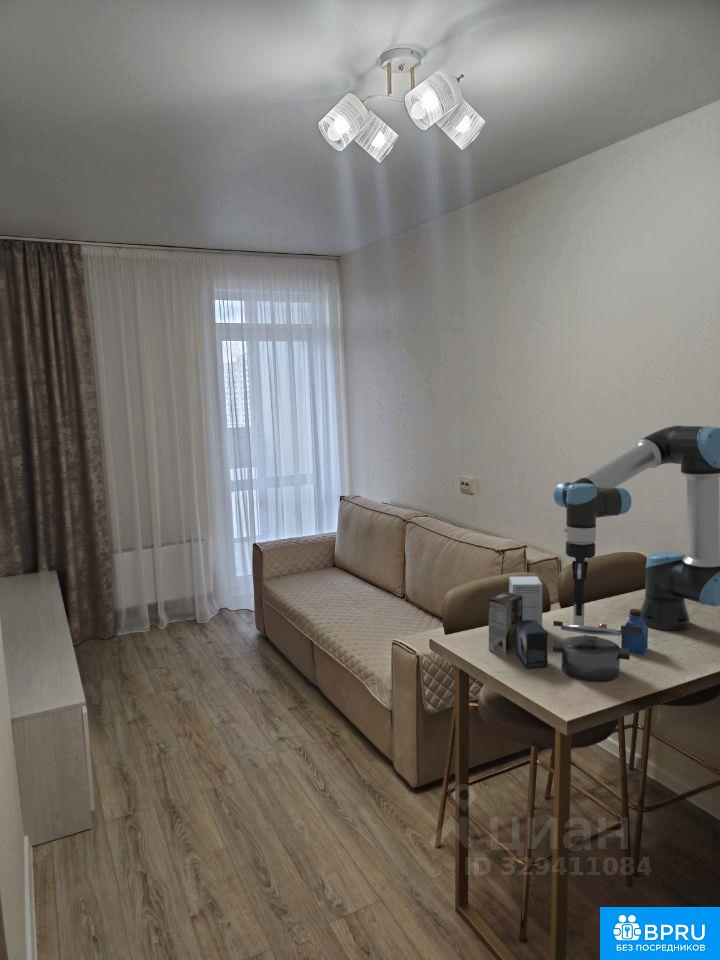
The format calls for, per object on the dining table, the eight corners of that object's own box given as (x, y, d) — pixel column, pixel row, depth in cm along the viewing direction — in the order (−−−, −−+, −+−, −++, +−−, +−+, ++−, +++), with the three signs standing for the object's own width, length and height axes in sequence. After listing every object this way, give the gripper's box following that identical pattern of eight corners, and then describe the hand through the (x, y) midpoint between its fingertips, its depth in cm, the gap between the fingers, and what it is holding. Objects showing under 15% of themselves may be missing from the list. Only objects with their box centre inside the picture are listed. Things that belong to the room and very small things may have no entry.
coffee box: (504, 642, 202) (504, 591, 200) (523, 647, 197) (523, 595, 195) (487, 650, 195) (487, 598, 193) (506, 656, 191) (506, 602, 189)
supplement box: (538, 626, 215) (538, 576, 213) (543, 636, 206) (543, 584, 204) (508, 625, 216) (508, 575, 214) (512, 636, 207) (512, 584, 204)
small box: (513, 654, 192) (513, 620, 191) (535, 653, 192) (535, 618, 191) (525, 669, 181) (525, 632, 180) (548, 668, 182) (549, 631, 181)
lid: (639, 639, 182) (640, 630, 183) (643, 634, 168) (643, 625, 168) (555, 630, 190) (555, 622, 191) (551, 626, 175) (552, 616, 176)
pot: (627, 662, 184) (628, 638, 184) (629, 686, 169) (630, 660, 168) (554, 654, 191) (555, 631, 190) (550, 677, 176) (551, 652, 175)
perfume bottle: (643, 655, 189) (645, 615, 187) (621, 651, 192) (622, 612, 191) (647, 648, 194) (648, 609, 193) (625, 644, 197) (626, 606, 196)
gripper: (567, 535, 184) (565, 616, 187) (564, 545, 172) (562, 632, 175) (595, 537, 181) (593, 619, 184) (595, 547, 169) (592, 635, 172)
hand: (578, 625), depth 180 cm, fingers closed
